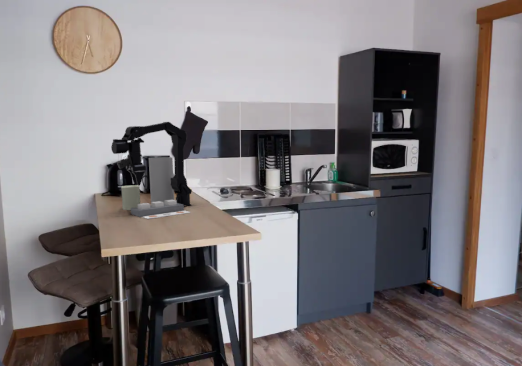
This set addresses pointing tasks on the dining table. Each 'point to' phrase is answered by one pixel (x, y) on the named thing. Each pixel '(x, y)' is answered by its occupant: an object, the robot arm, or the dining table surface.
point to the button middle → (157, 204)
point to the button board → (156, 210)
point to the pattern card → (166, 214)
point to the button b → (170, 202)
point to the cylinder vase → (161, 178)
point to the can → (130, 196)
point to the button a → (143, 206)
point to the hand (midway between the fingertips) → (136, 184)
